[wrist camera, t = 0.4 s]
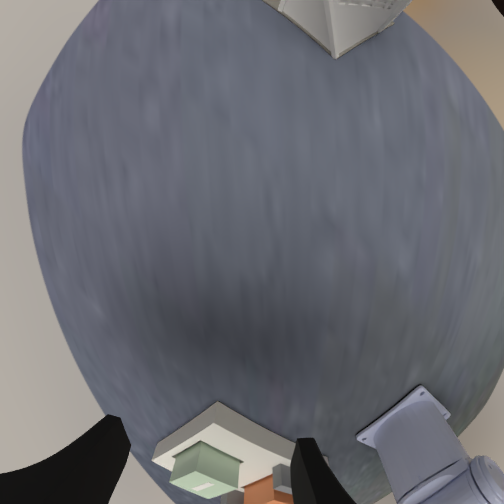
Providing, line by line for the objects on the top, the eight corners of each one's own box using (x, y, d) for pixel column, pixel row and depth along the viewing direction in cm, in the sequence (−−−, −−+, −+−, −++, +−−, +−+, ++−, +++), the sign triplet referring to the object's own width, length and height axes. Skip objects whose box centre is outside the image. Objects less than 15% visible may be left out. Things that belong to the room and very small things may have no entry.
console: (328, 457, 22) (336, 494, 17) (261, 490, 23) (261, 522, 18) (217, 400, 20) (209, 447, 15) (157, 442, 21) (145, 479, 17)
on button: (239, 459, 19) (238, 488, 15) (212, 472, 19) (208, 499, 16) (202, 440, 18) (195, 471, 15) (176, 454, 19) (169, 482, 16)
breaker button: (301, 482, 20) (304, 507, 17) (273, 494, 21) (273, 518, 17) (273, 472, 19) (274, 500, 16) (244, 485, 20) (243, 510, 17)
